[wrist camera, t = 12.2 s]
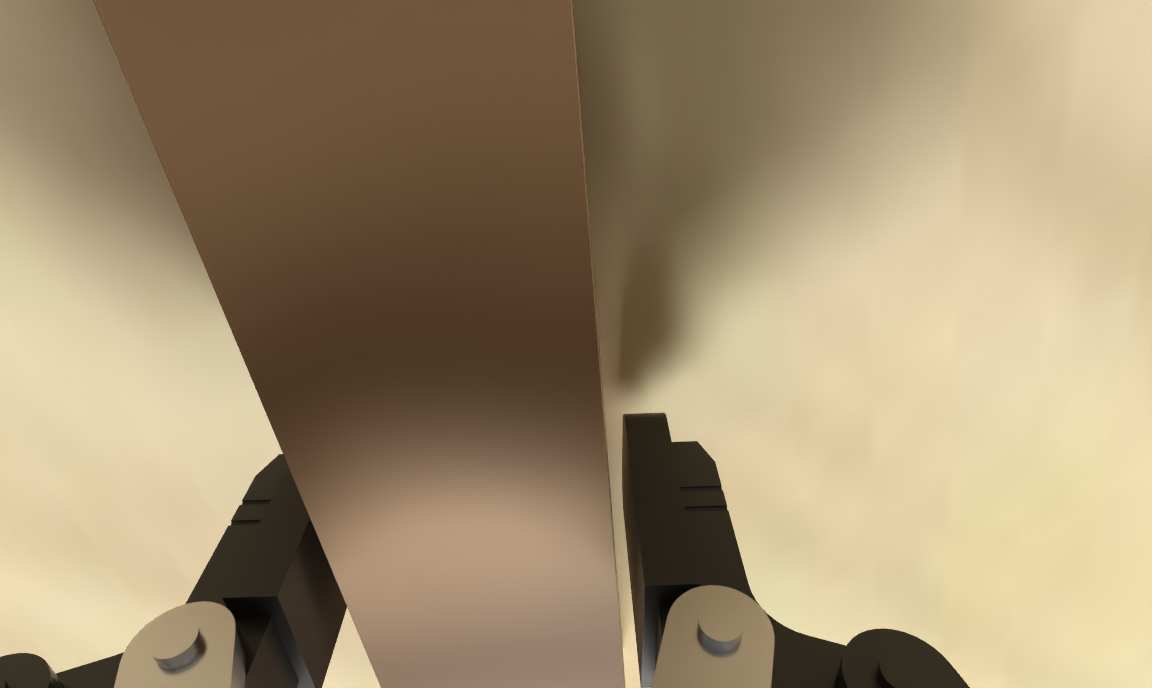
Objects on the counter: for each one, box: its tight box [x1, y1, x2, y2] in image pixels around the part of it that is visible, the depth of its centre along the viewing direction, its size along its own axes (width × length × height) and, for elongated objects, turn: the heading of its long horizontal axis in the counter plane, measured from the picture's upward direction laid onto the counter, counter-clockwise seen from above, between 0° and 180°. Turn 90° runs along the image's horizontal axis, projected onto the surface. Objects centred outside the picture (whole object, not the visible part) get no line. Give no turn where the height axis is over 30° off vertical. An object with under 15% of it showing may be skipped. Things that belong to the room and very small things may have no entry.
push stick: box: [93, 0, 625, 688], centre depth 10 cm, size 24×4×4 cm, turn 5°
